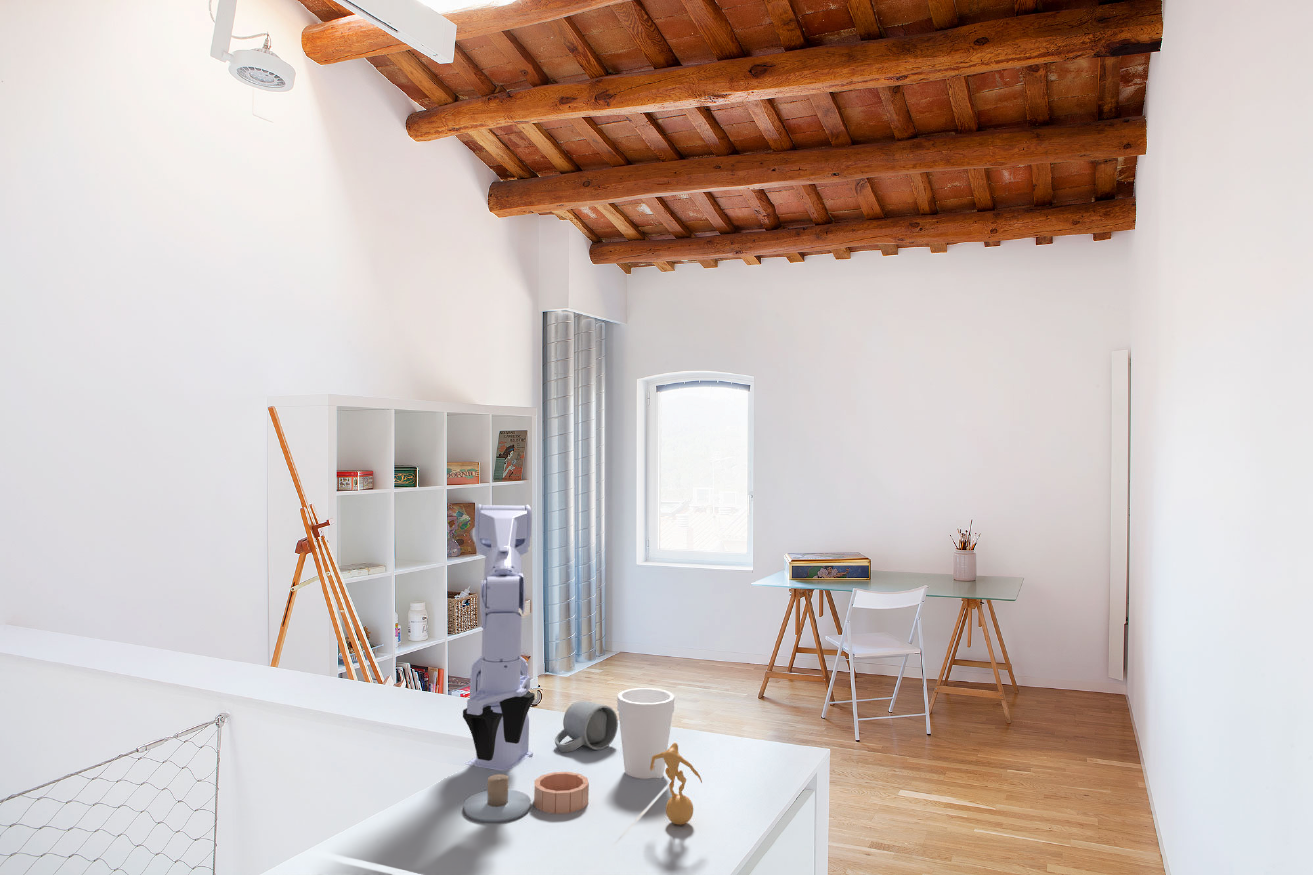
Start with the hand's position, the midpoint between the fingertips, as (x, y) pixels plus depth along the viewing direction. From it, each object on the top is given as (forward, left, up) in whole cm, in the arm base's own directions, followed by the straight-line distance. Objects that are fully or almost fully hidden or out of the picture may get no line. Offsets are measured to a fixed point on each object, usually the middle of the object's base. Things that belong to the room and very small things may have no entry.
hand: (498, 750), depth 120 cm
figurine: (-6, +26, -9) cm, 28 cm away
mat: (0, 0, -9) cm, 9 cm away
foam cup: (-22, +15, -9) cm, 28 cm away
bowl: (-6, +8, -9) cm, 13 cm away
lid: (0, 0, -8) cm, 8 cm away
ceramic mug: (-31, 0, -9) cm, 32 cm away
